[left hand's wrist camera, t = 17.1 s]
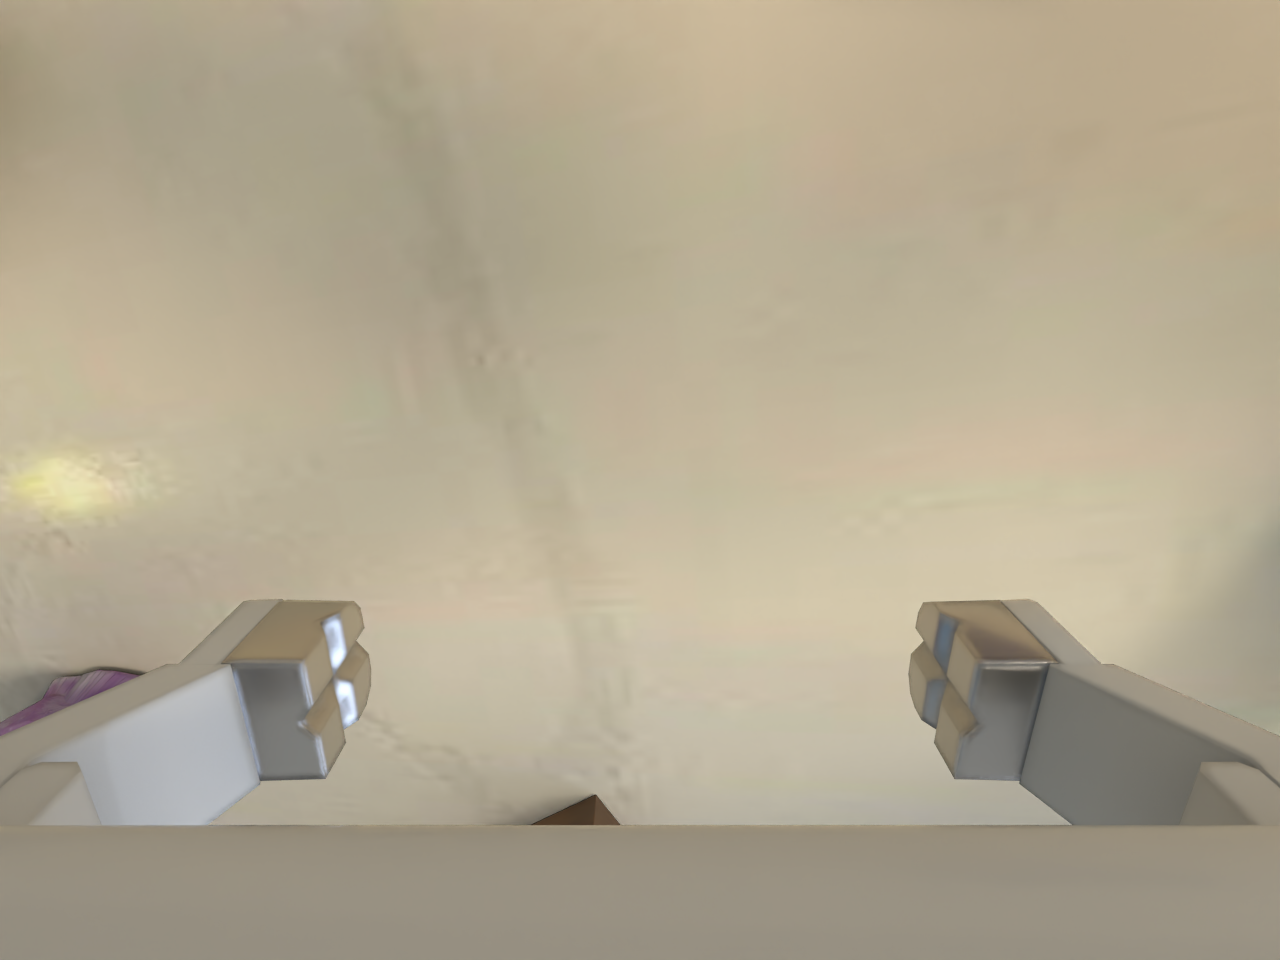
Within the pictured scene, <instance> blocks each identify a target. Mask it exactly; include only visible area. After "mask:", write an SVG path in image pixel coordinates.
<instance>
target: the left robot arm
mask: <svg viewBox="0 0 1280 960" xmlns="http://www.w3.org/2000/svg"><path fill="white" fill-rule="evenodd" d="M363 629H364V623H363V618H362V613H361V608H360V607H359V606H358V605H357V604H356V603H355V602H354V601H321V600H283V599H270V600H249V601H244V602H242V603H241V604H240V605H239V606H238V607H237V608H236V609H235V610H234V611H233V612H232V613H231V614H230V615H229V616H228V617H227V618H226V619H225V620H224V621H223V622H222V623H221V624H220V625H219V626H218V627H216V628H215V629H214V630H213V631H212V632H211V633H210V634H209V635H208V636H207V637H206V638H205V639H204V640H203V641H202V642H201V643H200V644H199V645H198V646H197V647H196V648H195V649H194V650H193V651H192V652H191V653H189V654H188V655H187V656H186V657H185V658H184V659H183V660H182V661H181V662H180V663H179V664H166V665H164V666H161V667H159V668H157V669H154V670H152V671H150V672H148V673H145V674H143V675H141V676H138V677H136V678H134V679H131V680H129V681H127V682H124V683H122V684H120V685H117V686H115V687H113V688H111V689H108V690H106V691H104V692H101V693H99V694H97V695H94V696H92V697H90V698H87V699H85V700H83V701H80V702H78V703H76V704H74V705H71V706H69V707H67V708H64V709H62V710H60V711H57V712H55V713H53V714H50V715H48V716H46V717H43V718H41V719H39V720H37V721H34V722H32V723H30V724H27V725H25V726H23V727H20V728H18V729H16V730H13V731H11V732H9V733H6V734H4V735H2V736H0V960H1280V736H1278V735H1275V734H1273V733H1271V732H1269V731H1266V730H1264V729H1262V728H1259V727H1257V726H1255V725H1252V724H1250V723H1248V722H1245V721H1243V720H1241V719H1239V718H1236V717H1234V716H1232V715H1229V714H1227V713H1225V712H1222V711H1220V710H1218V709H1215V708H1213V707H1211V706H1209V705H1206V704H1204V703H1202V702H1199V701H1197V700H1195V699H1192V698H1190V697H1188V696H1185V695H1183V694H1181V693H1179V692H1176V691H1174V690H1172V689H1169V688H1167V687H1165V686H1162V685H1160V684H1158V683H1155V682H1153V681H1151V680H1149V679H1146V678H1144V677H1142V676H1139V675H1137V674H1135V673H1132V672H1130V671H1128V670H1126V669H1123V668H1121V667H1119V666H1116V665H1114V664H1101V663H1100V662H1099V661H1098V660H1097V659H1096V658H1095V657H1094V656H1093V655H1092V654H1091V653H1090V652H1089V651H1087V650H1086V649H1085V648H1084V647H1083V646H1082V645H1081V644H1080V643H1079V642H1078V641H1077V640H1076V639H1075V638H1074V637H1073V636H1072V635H1071V634H1070V633H1069V632H1068V631H1067V630H1066V629H1065V628H1064V627H1063V626H1062V625H1061V624H1060V623H1058V622H1057V621H1056V620H1055V619H1054V618H1053V617H1052V616H1051V615H1050V614H1049V613H1048V612H1047V611H1046V610H1045V609H1044V608H1043V607H1042V606H1041V605H1040V604H1039V603H1038V602H1035V601H1032V600H1029V599H1016V600H984V601H943V602H924V603H923V604H922V606H921V608H920V610H919V612H918V617H917V622H916V629H917V631H918V632H919V634H920V636H921V637H922V639H923V640H924V641H923V642H922V644H921V645H920V646H919V647H918V648H917V649H916V650H915V651H914V652H913V653H912V654H911V659H910V667H909V685H910V694H911V697H912V700H913V703H914V707H915V709H916V711H917V712H918V714H919V716H920V718H921V720H922V721H924V722H926V723H927V724H929V725H930V726H932V727H933V728H935V729H936V735H935V740H934V743H935V745H936V747H937V749H938V750H939V752H940V754H941V756H942V757H943V759H944V761H945V763H946V765H947V766H948V768H949V770H950V772H951V773H952V775H953V777H954V779H975V780H1011V781H1020V783H1019V784H1021V785H1022V786H1023V787H1024V788H1026V789H1027V790H1028V791H1030V792H1031V793H1032V794H1033V795H1035V796H1036V797H1037V798H1039V799H1040V800H1041V801H1043V802H1044V803H1045V804H1046V805H1048V806H1049V807H1050V808H1052V809H1053V810H1054V811H1055V812H1057V813H1058V814H1059V815H1061V816H1062V817H1063V818H1064V819H1066V820H1067V821H1068V822H1070V823H1071V824H1072V825H208V824H209V823H211V822H212V821H213V820H214V819H216V818H217V817H218V816H220V815H221V814H222V813H224V812H225V811H226V810H227V809H229V808H230V807H231V806H233V805H234V804H235V803H236V802H238V801H239V800H240V799H242V798H243V797H244V796H245V795H247V794H248V793H249V792H251V791H252V790H253V789H255V788H256V787H257V786H258V785H260V781H269V780H304V779H326V777H327V775H328V773H329V772H330V770H331V768H332V766H333V765H334V763H335V761H336V759H337V758H338V756H339V754H340V752H341V750H342V749H343V747H344V745H345V743H346V740H345V735H344V729H345V728H347V727H348V726H350V725H351V724H353V723H354V722H356V721H358V720H359V718H360V716H361V714H362V712H363V710H364V709H365V707H366V704H367V700H368V696H369V692H370V687H371V665H370V658H369V654H368V653H367V652H366V651H365V650H364V649H363V648H362V647H361V646H360V645H359V644H358V642H357V641H356V640H357V639H358V637H359V636H360V634H361V632H362V631H363Z"/></svg>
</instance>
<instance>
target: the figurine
mask: <svg viewBox="0 0 1280 960" xmlns="http://www.w3.org/2000/svg"><path fill="white" fill-rule="evenodd" d="M138 676H140V675H135V674H130V673H125V672H119V671H109V670H100V669H99V670H96V671H93V672H90V673H86V674H83V675H82V676H69V677H67V676H65V677H59V678H56V679H55V680H54V681H53V682H52V683H51V685H50V687H49V688H48V690H47V692H46V694H45V695H44V697H43V699H42V700H40V701H38V702H37V703H35V704H33V705H32V706H30V707H28V708H26V709H24V710H22V711H20V712H18V713H17V714H15V715H13V716H11V717H9V718H8V719H6V720H4V721H3V722H1V723H0V736H2V735H4V734H6V733H9V732H11V731H13V730H16V729H18V728H20V727H23V726H25V725H27V724H30V723H32V722H34V721H37V720H39V719H41V718H43V717H46V716H48V715H50V714H53V713H55V712H57V711H60V710H62V709H64V708H67V707H69V706H71V705H74V704H76V703H78V702H80V701H83V700H85V699H87V698H90V697H92V696H94V695H97V694H99V693H101V692H104V691H106V690H108V689H111V688H113V687H115V686H117V685H120V684H122V683H124V682H127V681H129V680H131V679H134V678H136V677H138Z"/></svg>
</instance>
